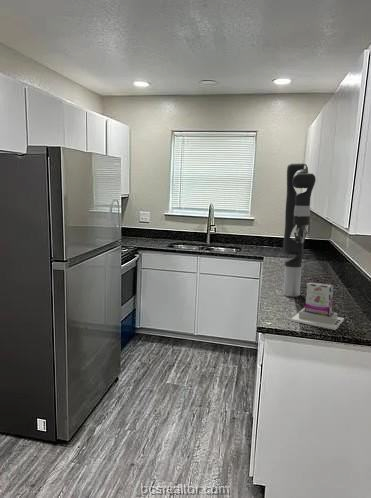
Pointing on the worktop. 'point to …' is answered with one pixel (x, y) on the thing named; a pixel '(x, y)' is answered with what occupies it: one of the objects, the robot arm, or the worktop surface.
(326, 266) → the worktop surface
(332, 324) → the socket board
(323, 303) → the candy bar box
